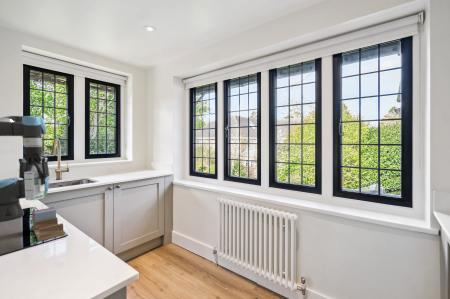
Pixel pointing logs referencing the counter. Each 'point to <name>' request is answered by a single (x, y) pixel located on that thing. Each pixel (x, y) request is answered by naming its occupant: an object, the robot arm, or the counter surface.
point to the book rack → (46, 224)
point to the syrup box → (32, 186)
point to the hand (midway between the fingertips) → (35, 191)
